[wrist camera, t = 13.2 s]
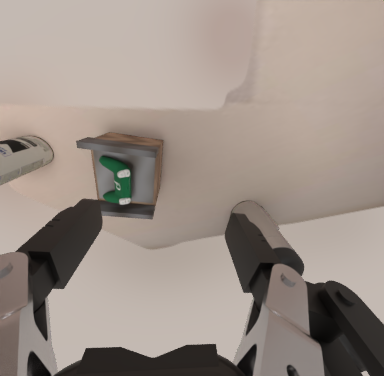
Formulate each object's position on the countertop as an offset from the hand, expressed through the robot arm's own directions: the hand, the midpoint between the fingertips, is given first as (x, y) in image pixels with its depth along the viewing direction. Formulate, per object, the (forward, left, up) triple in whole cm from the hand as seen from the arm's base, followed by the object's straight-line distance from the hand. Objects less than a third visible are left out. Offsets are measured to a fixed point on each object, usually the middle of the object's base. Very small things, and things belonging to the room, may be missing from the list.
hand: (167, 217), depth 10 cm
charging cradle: (+9, +8, -30) cm, 32 cm away
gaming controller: (+10, +8, -21) cm, 25 cm away
